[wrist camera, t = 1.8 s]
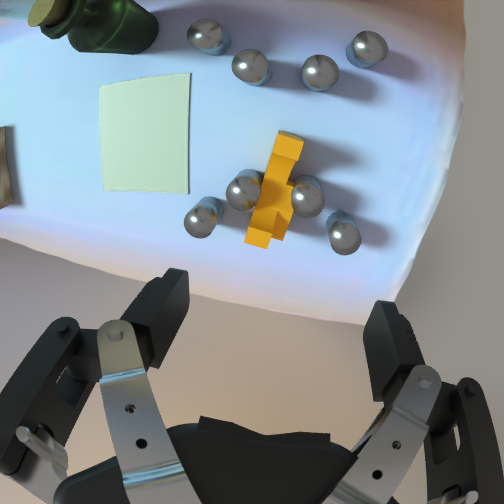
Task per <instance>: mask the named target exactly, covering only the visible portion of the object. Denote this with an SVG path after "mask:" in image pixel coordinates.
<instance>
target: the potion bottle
mask: <svg viewBox="0 0 504 504" xmlns="http://www.w3.org/2000/svg"><path fill="white" fill-rule="evenodd" d="M28 25H29V26H31V27H35V26H40V28H41V32H42V33H43V34H45V35H46V36H48V37H49V38H51V39H59V38H61V37H62V36H64V35H66V34H67V36H68V39H69V42H70V44H71V45H72V47H73V48H74V49H76V50H77V51H79V52H89V53H117V54H131V55H134V54H137V53H140V52H142V51H144V50H145V49H146V48H148V47H149V46H150V45H151V44H152V42H153V41H154V40H155V38H156V36H157V33H158V21H157V20H156V18H155V16H153V15H152V14H151V13H149V12H148V11H147V10H145V9H144V8H143V7H141V6H140V5H139V4H137V3H136V2H135V1H133V0H36V1H35V2H34V4H33V5H32V7H31V9H30V12H29V15H28Z"/></svg>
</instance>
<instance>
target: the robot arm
mask: <svg viewBox="0 0 504 504" xmlns="http://www.w3.org/2000/svg"><path fill="white" fill-rule="evenodd" d="M35 1H36V0H0V19H21V20H28V15H29V12H30V9H31V7H32V5H33V4H34V2H35ZM189 299H190V298H189V276H188V272H187V271H186V270H180V269H175V268H169V269H168V270H167V272H166V273H165V274H164V276H163V277H162V278H160V277H156V278H154V279H153V280H151V281H149V282H148V283H147V284H146V285H145V286H144V288H143V289H142V291H141V292H140V293H139V294H138V295H137V298H135V299H134V301H133V302H132V303H131V304H130V306H129V307H128V308H127V310H126V311H125V312H124V314H123V315H122V316H121V318H120V319H119V320H111V321H108V322H106V323H104V324H103V325H102V326H101V327H100V328H99V329H97V330H96V329H80V327H79V324H78V322H77V321H76V320H75V319H73V318H71V317H61V318H59V319H56V320H55V321H54V322H52V323H51V324H50V325H49V327H48V328H47V329H46V330H45V332H44V333H43V334H42V335H41V337H40V338H39V339H38V341H37V342H36V343H35V344H34V346H33V347H32V348H31V350H30V351H29V352H28V354H27V355H26V357H25V358H24V360H23V361H22V362H21V364H20V365H19V366H18V368H17V369H16V371H15V372H14V374H13V375H12V377H11V378H10V379H9V381H8V383H7V384H6V386H5V387H4V389H3V390H2V392H1V394H0V473H1V474H3V475H4V476H6V477H8V478H9V479H11V480H13V481H14V482H16V483H18V484H20V485H22V486H23V487H24V488H25V489H27V490H28V491H30V492H31V493H32V494H34V495H35V496H37V497H38V498H40V499H41V500H43V501H44V502H46V503H47V504H399V503H398V502H397V501H396V500H395V499H394V497H393V496H392V495H393V493H394V492H395V490H396V489H397V487H398V486H399V484H400V482H401V481H402V479H403V477H404V476H405V474H406V472H407V471H408V469H409V467H410V465H411V464H412V462H413V460H414V458H415V456H416V454H417V452H418V450H419V449H420V447H421V445H422V443H423V442H424V451H425V461H426V475H427V499H428V500H427V501H428V503H427V504H504V477H503V470H502V464H501V458H500V453H499V448H498V443H497V439H496V435H495V431H494V426H493V423H492V419H491V415H490V412H489V409H488V406H487V402H486V399H485V396H484V393H483V390H482V388H481V386H480V384H479V383H478V382H477V381H476V380H474V379H472V378H469V377H468V378H467V377H465V378H463V379H461V380H460V381H459V383H458V384H457V385H453V384H449V383H446V382H442V381H441V378H440V375H439V374H438V372H437V371H436V370H435V369H433V368H432V367H430V366H427V365H426V364H425V362H424V359H423V356H422V353H421V351H420V348H419V345H418V343H417V341H416V337H415V334H414V333H413V330H412V327H411V325H410V322H409V321H408V320H407V319H406V318H405V317H404V316H403V315H402V314H399V312H398V310H397V307H396V304H395V303H394V302H389V301H381V300H377V301H376V303H375V305H374V307H373V309H372V312H371V314H370V316H369V319H368V321H367V323H366V326H365V328H364V332H363V342H364V347H365V353H366V358H367V364H368V369H369V375H370V381H371V387H372V394H373V401H374V402H381V401H383V402H384V407H383V408H382V409H381V411H380V413H379V414H378V415H377V417H376V418H375V420H374V421H373V422H372V424H371V425H370V427H369V428H368V430H367V431H366V432H365V434H364V435H363V436H362V438H361V439H360V440H359V441H358V443H357V444H356V445H355V446H354V447H353V448H352V449H351V450H350V451H349V450H348V449H346V448H344V447H342V446H341V445H338V444H336V443H333V442H330V434H328V433H309V432H294V433H285V434H276V435H262V434H259V433H257V432H254V431H251V430H249V429H247V428H244V427H242V426H239V425H237V424H235V423H232V422H227V421H222V420H217V419H213V418H209V417H204V416H200V419H199V423H189V424H182V425H177V426H173V427H170V428H168V429H166V427H165V425H164V423H163V420H162V418H161V415H160V413H159V410H158V407H157V404H156V401H155V398H154V396H153V393H152V390H151V387H150V384H149V381H148V378H147V374H146V373H147V371H148V369H149V367H154V368H157V369H159V367H160V366H161V363H162V361H163V359H164V358H165V356H166V353H167V352H168V349H169V348H170V346H171V344H172V342H173V340H174V338H175V336H176V333H177V332H178V330H179V328H180V326H181V324H182V322H183V320H184V318H185V316H186V314H187V312H188V308H189V301H190V300H189ZM64 369H65V370H64ZM63 370H64V371H63ZM62 372H63V373H62ZM61 373H62V375H61ZM60 375H61V376H60ZM59 376H60V378H59ZM58 378H59V379H58ZM57 380H58V381H57ZM56 382H57V383H56ZM96 382H100V388H101V393H102V399H103V404H104V409H105V413H106V418H107V422H108V426H109V431H110V434H111V438H112V442H113V445H114V449H115V452H116V456H114V457H112V458H110V459H108V460H106V461H104V462H102V463H99V464H97V465H95V466H93V467H90V468H88V469H86V470H84V471H81V472H79V473H77V474H74V475H72V476H69V477H67V473H66V470H67V469H68V456H67V452H66V450H65V449H64V447H65V444H66V442H67V439H68V438H69V435H70V434H71V431H72V429H73V427H74V425H75V423H76V421H77V419H78V417H79V415H80V413H81V411H82V409H83V407H84V405H85V403H86V401H87V399H88V397H89V395H90V393H91V391H92V389H93V388H94V385H95V384H96ZM456 426H458V431H459V436H460V447H459V450H458V451H457V446H456V440H455V434H454V429H453V428H454V427H456Z"/></svg>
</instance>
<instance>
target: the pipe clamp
mask: <svg viewBox="0 0 504 504" xmlns="http://www.w3.org/2000/svg"><path fill="white" fill-rule="evenodd" d="M303 144H304V142H303V140H302V139H301V138H300V137H298V136H295V135H292V134H289V133H286V132H283V131H280V130H279V132H278V135H277V138H276V141H275V144H274V147H273V150H272V154H271V157H270V160H269V163H268V166H267V169H266V173H265V176H264V179H263V182H262V185H261V194H260V197H259V200H258V202H257V204H256V205H255V208H254V211H253V214H252V217H251V221H250V224H249V227H248V230H247V234H246V237H245V240H244V243H248V244H251V245H254V246H257V247H261V248H264V249H267V247H268V245H269V242H270V239H271V238H274V239H278V240H281V241H283V239H284V236H285V233H286V231H287V228H288V225H289V223H290V220H291V217H292V215H293V211H294V210H293V208H292V206H291V192H292V189H293V187H294V185H293V182H291V181H288V178H289V175H290V173H291V170H292V168H293V166H294V164H295V162H296V161H298V159H299V156H300V153H301V150H302V147H303Z"/></svg>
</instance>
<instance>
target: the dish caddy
mask: <svg viewBox="0 0 504 504" xmlns="http://www.w3.org/2000/svg"><path fill="white" fill-rule="evenodd" d="M12 202H13V197H12V191H11V186H10V179H9V172H8V164H7V155H6V144H5V126H3V127H0V209H2V208H3V207H5V206H7V205H9V204H11V203H12Z"/></svg>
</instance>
